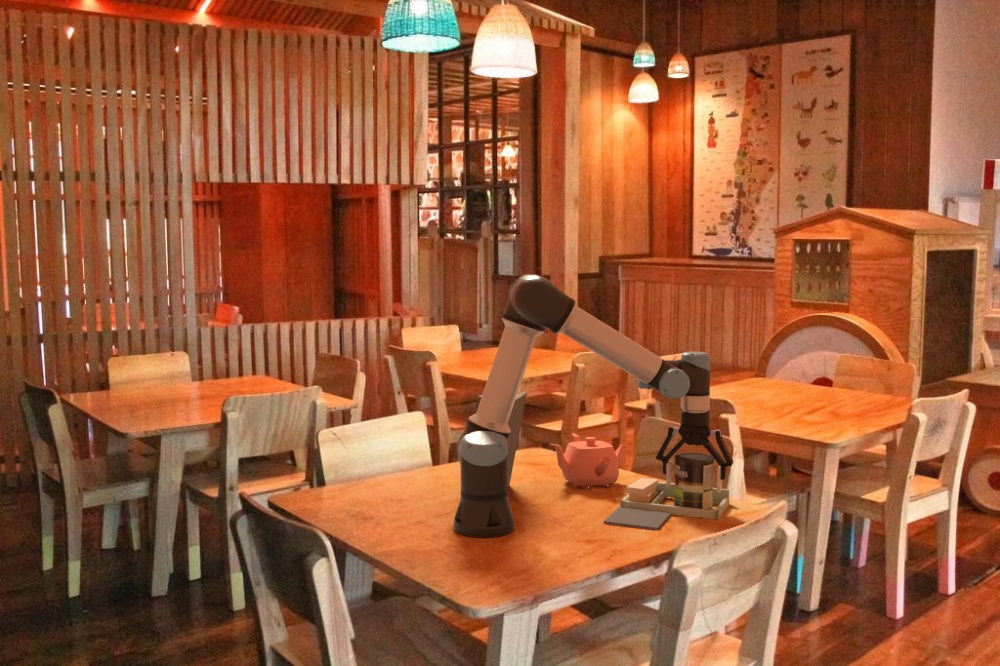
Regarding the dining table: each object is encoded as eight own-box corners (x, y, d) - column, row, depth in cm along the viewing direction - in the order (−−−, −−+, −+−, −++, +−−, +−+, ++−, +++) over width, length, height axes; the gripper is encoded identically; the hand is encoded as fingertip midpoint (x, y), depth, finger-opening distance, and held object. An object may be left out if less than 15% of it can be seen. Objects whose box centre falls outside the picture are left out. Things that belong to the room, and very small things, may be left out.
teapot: (548, 487, 277) (549, 440, 276) (572, 473, 293) (572, 429, 292) (608, 495, 269) (608, 446, 267) (629, 480, 285) (629, 434, 284)
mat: (657, 530, 236) (657, 527, 236) (603, 523, 242) (603, 521, 242) (670, 515, 249) (670, 512, 249) (619, 509, 255) (619, 506, 255)
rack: (717, 519, 245) (718, 499, 245) (620, 508, 256) (620, 489, 255) (729, 503, 260) (729, 485, 259) (636, 493, 270) (636, 475, 270)
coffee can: (685, 515, 249) (686, 462, 248) (666, 505, 259) (667, 454, 257) (720, 512, 252) (721, 459, 251) (700, 501, 262) (701, 451, 260)
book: (492, 502, 258) (511, 401, 255) (459, 494, 260) (477, 394, 257) (509, 485, 279) (526, 392, 276) (478, 478, 281) (496, 385, 278)
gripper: (745, 411, 251) (743, 490, 253) (652, 404, 261) (651, 480, 263) (740, 416, 244) (738, 497, 246) (645, 409, 254) (644, 487, 256)
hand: (693, 488), depth 255 cm, fingers open, 13 cm apart
